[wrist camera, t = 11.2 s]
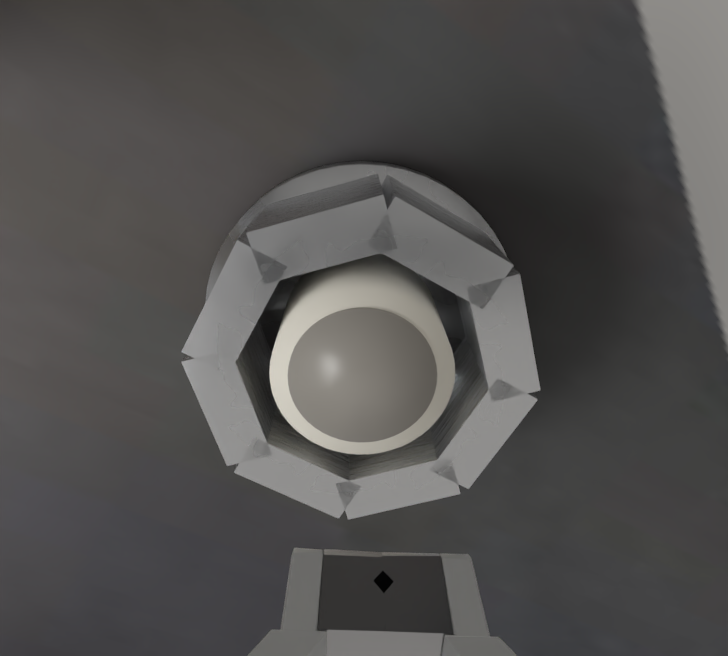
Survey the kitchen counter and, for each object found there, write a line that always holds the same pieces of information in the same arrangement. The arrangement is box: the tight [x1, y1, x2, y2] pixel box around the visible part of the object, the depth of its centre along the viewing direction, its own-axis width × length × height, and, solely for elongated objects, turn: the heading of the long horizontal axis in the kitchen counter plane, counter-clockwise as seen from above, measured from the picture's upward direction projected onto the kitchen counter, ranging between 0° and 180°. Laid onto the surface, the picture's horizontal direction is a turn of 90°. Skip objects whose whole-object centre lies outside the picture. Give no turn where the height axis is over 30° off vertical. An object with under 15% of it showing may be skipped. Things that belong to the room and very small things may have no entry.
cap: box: [269, 253, 455, 454], centre depth 19 cm, size 6×6×4 cm
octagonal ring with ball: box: [181, 161, 540, 520], centre depth 20 cm, size 11×11×5 cm
